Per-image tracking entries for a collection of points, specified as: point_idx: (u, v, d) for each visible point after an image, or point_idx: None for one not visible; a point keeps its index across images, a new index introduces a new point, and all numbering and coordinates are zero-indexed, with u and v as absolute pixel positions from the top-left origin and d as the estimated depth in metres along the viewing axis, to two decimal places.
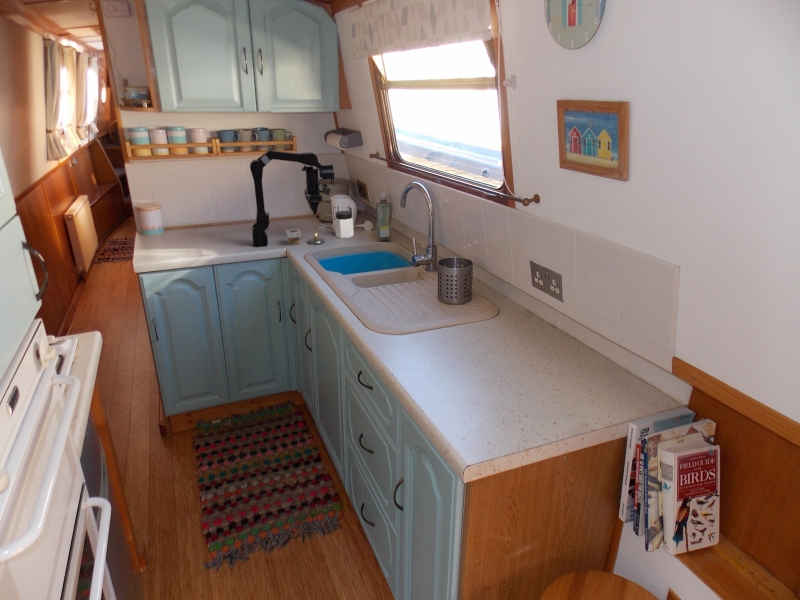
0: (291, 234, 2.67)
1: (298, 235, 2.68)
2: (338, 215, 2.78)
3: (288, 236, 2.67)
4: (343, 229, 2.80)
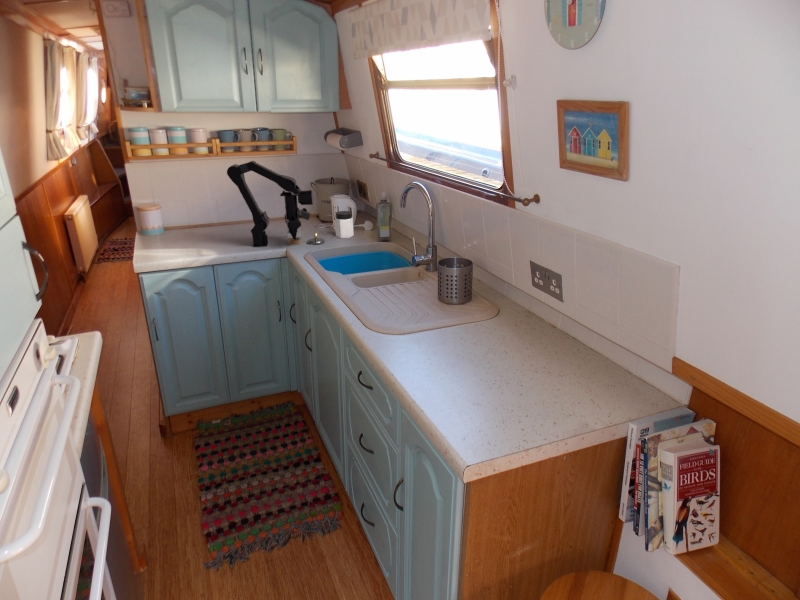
0: None
1: (298, 235, 2.68)
2: (338, 215, 2.78)
3: (288, 236, 2.67)
4: (343, 229, 2.80)
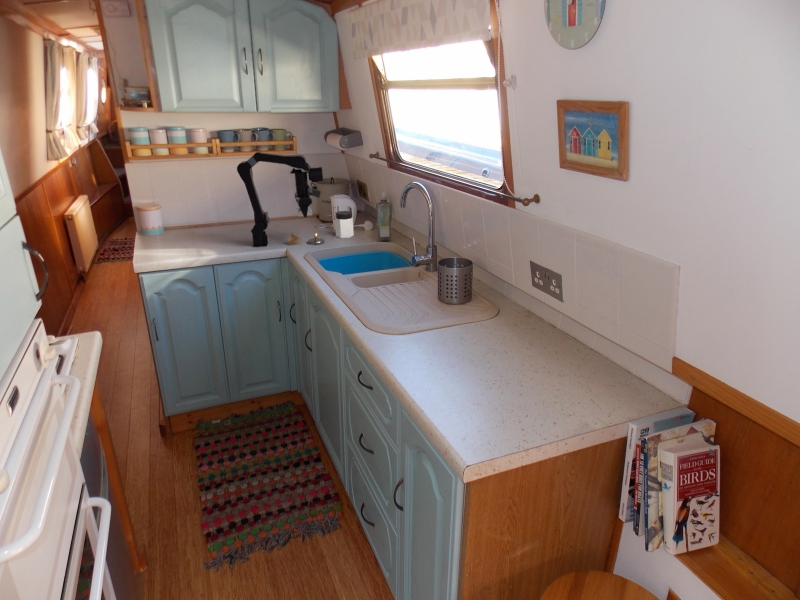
0: None
1: (309, 213, 2.65)
2: (338, 215, 2.78)
3: (299, 214, 2.64)
4: (343, 229, 2.80)
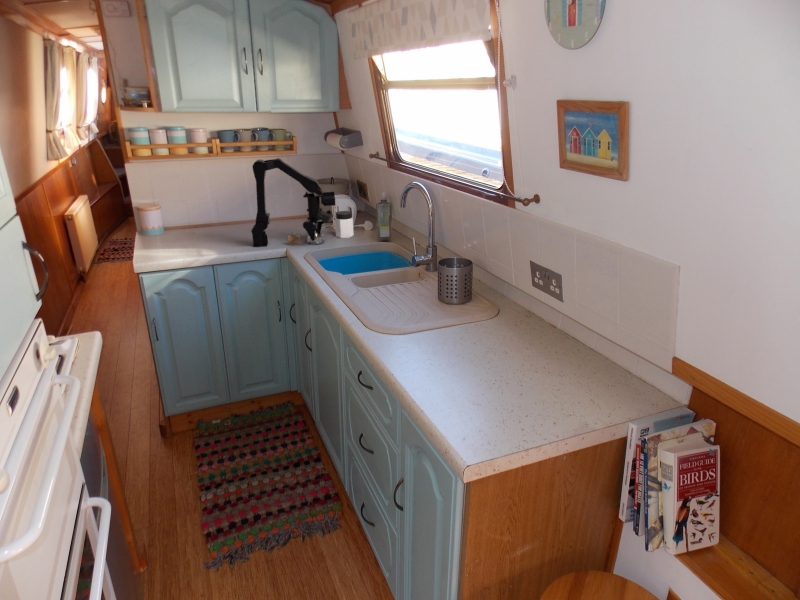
0: None
1: (317, 240, 2.70)
2: (338, 215, 2.78)
3: (308, 240, 2.71)
4: (343, 229, 2.80)
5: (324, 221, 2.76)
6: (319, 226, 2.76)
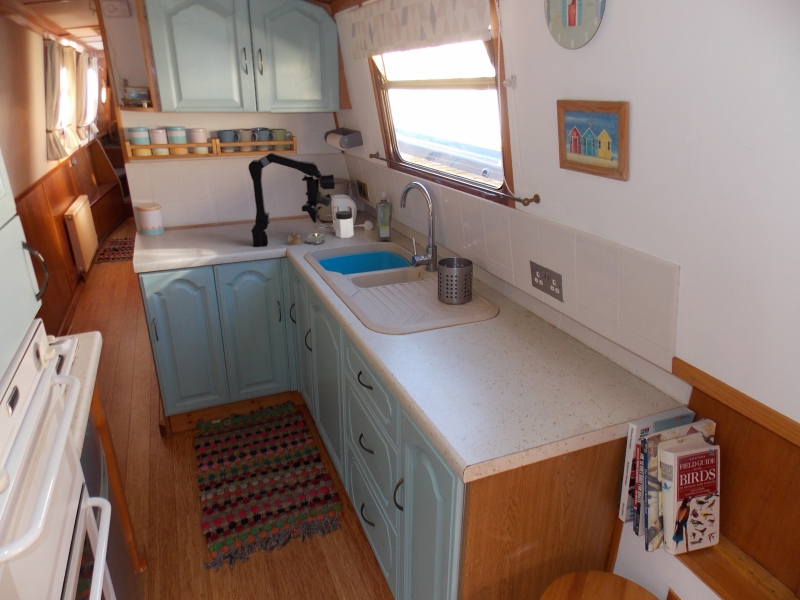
0: (311, 238, 2.70)
1: (317, 240, 2.70)
2: (338, 215, 2.78)
3: (308, 240, 2.71)
4: (343, 229, 2.80)
5: (321, 207, 2.69)
6: None
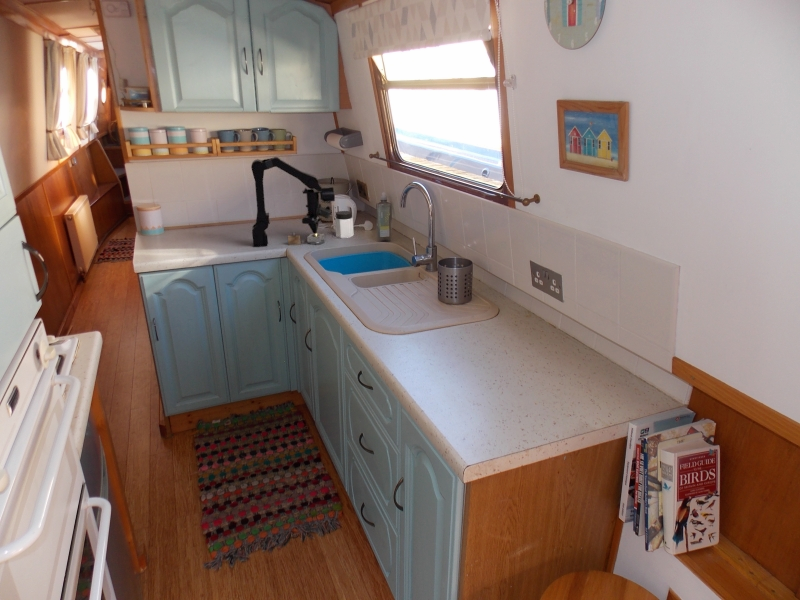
0: (311, 238, 2.70)
1: (317, 240, 2.70)
2: (338, 215, 2.78)
3: (308, 240, 2.71)
4: (343, 229, 2.80)
5: (321, 219, 2.74)
6: None
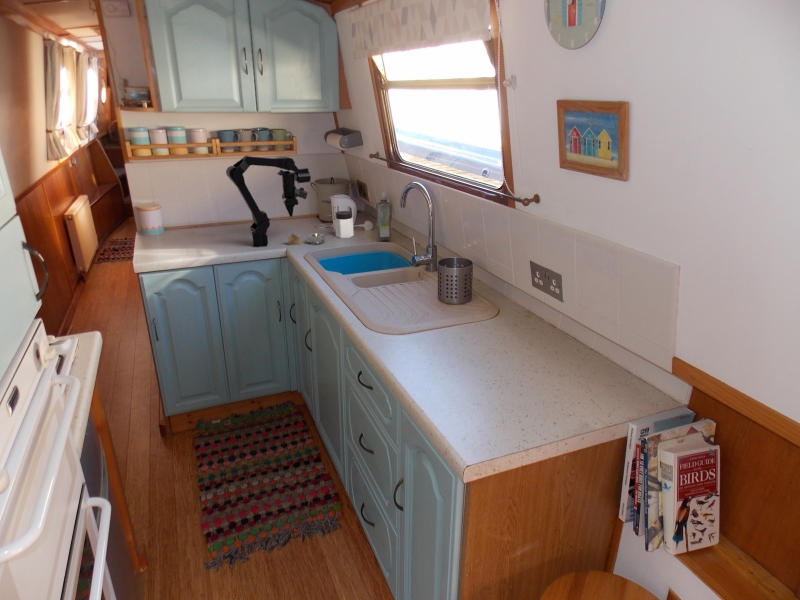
0: (311, 238, 2.70)
1: (317, 240, 2.70)
2: (338, 215, 2.78)
3: (308, 240, 2.71)
4: (343, 229, 2.80)
5: None
6: None
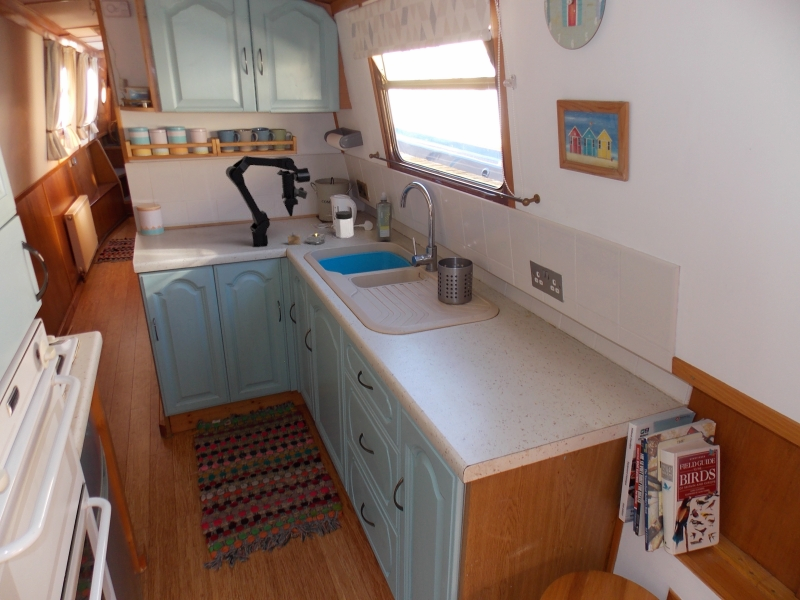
0: (311, 238, 2.70)
1: (317, 240, 2.70)
2: (338, 215, 2.78)
3: (308, 240, 2.71)
4: (343, 229, 2.80)
5: None
6: None
